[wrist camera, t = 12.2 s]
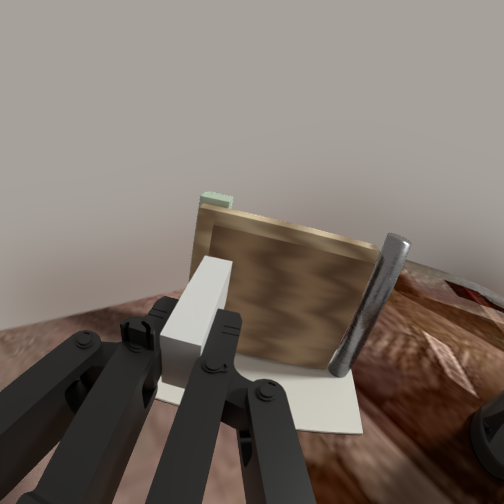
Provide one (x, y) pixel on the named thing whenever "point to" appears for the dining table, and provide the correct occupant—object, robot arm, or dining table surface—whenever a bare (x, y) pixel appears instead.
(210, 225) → the gate
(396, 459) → the dining table surface
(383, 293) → the hinge post
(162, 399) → the mat
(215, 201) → the latch post
